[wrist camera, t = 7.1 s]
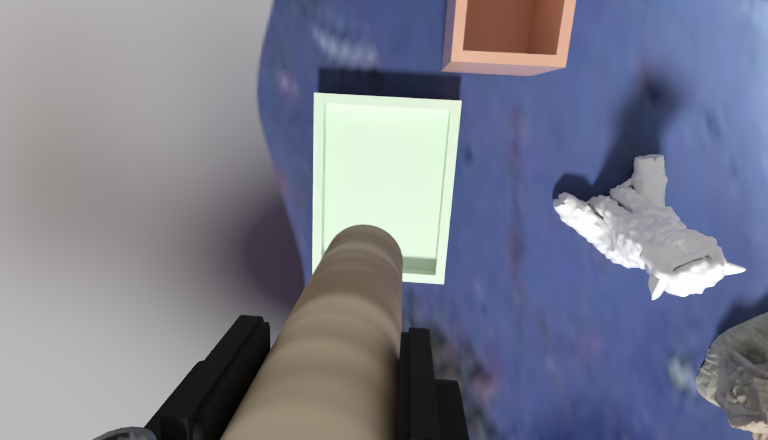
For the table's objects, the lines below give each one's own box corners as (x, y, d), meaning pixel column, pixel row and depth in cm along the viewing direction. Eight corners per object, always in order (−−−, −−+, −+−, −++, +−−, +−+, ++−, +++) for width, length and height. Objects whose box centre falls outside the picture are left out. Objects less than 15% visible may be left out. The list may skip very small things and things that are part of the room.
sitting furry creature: (651, 146, 36) (768, 164, 24) (685, 231, 38) (810, 286, 26) (547, 198, 37) (610, 238, 26) (585, 277, 39) (660, 348, 28)
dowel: (327, 221, 19) (80, 572, 5) (405, 227, 19) (403, 605, 5) (325, 294, 20) (117, 773, 6) (400, 299, 20) (385, 803, 5)
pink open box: (449, -28, 33) (462, -69, 25) (544, -24, 33) (586, -64, 25) (441, 71, 35) (450, 61, 27) (530, 76, 35) (565, 67, 27)
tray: (318, 93, 36) (314, 92, 34) (458, 101, 36) (461, 100, 34) (316, 266, 40) (312, 274, 38) (441, 275, 40) (443, 284, 38)
